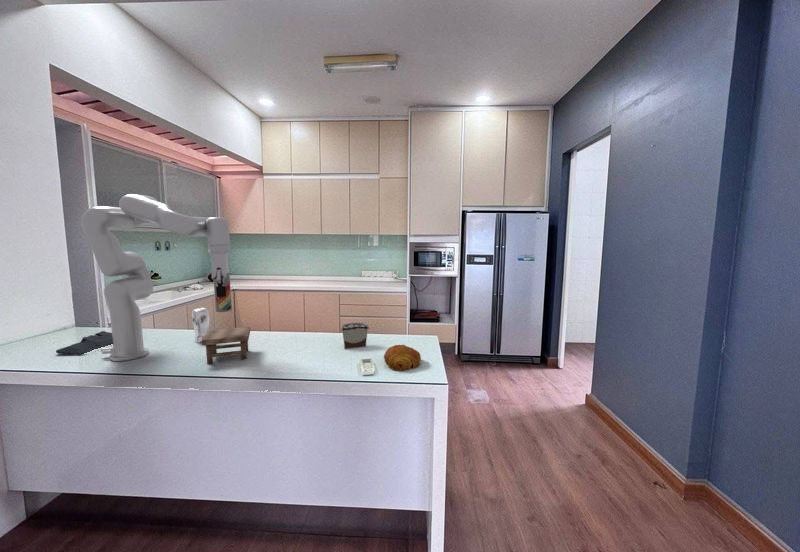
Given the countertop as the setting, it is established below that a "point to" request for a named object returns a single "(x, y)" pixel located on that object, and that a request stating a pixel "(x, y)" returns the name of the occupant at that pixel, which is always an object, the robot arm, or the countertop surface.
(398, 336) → the countertop surface
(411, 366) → the croissant
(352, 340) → the food container
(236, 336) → the walnut stool
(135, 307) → the robot arm
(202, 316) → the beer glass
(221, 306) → the lotion bottle
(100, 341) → the dark slate chunk
